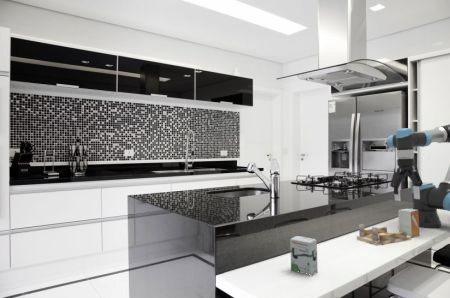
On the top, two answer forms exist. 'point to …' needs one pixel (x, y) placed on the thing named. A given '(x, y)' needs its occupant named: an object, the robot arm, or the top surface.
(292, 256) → the ink box
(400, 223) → the small box
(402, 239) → the board
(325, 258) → the top surface
